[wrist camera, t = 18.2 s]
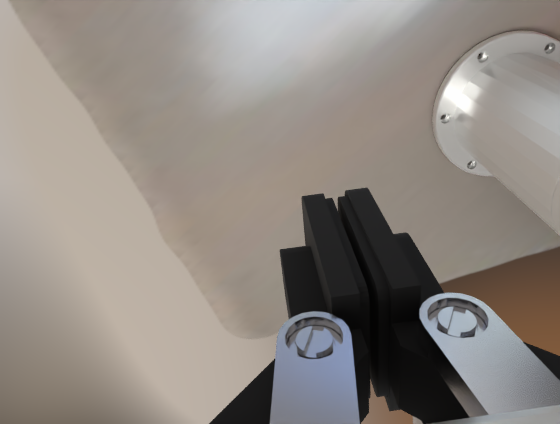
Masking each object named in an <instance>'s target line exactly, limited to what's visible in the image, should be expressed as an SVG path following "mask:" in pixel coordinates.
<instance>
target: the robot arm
mask: <svg viewBox="0 0 560 424" xmlns="http://www.w3.org/2000/svg"><path fill="white" fill-rule="evenodd" d="M480 53H481V55H480V56H479V57H478V55H479V54H480ZM443 114H444V116H443V117H442V118H441V116H442V115H443ZM432 123H433V133H434V136H435V139H436V142H437V144H438V146H439V148H440V149H441V151H442V153H443V154H444V155H445V156H446V157H447V158H448V159H449V161H450V162H452V163H453V164H454V165H455V166H457V167H458V168H459V169H461V170H463V171H465V172H467V173H471V174H475V175H479V176H494V177H496V178H497V179H498V180H499V181H500V182H501V183H502V184H503V185H504V186H505V187H507V188H508V189H509V190H510V191H511V192H512V193H513V194H514V195H515V196H517V197H518V198H519V199H520V200H521V201H522V202H523V203H524V204H525V205H526V206H528V207H529V208H530V209H531V210H532V211H533V212H534V213H535V214H536V215H537V216H539V217H540V218H541V219H542V220H543V221H544V222H545V223H546V224H547V225H548V226H550V227H551V228H552V229H553V230H554V231H555V232H556V233H557V234H558V235H559V236H560V41H559V40H557V39H555V38H553V37H550V36H548V35H546V34H542V33H539V32H535V31H524V30H519V31H511V32H505V33H502V34H499V35H496V36H493V37H490V38H489V39H487V40H485V41H483V42H481V43H479V44H477V45H476V46H475V47H473V48H472V49H471V50H469V51H468V52H467V53H465V54H464V55H463V56H462V57H461V58H460V59H459V60H458V61H457V62H456V64H455V65H454V66H453V67H452V68H451V70H450V71H449V73H448V74H447V75H446V77H445V78H444V80H443V82H442V84H441V86H440V88H439V90H438V93H437V96H436V99H435V103H434V107H433V116H432ZM302 210H303V221H304V233H305V244H306V246H302V247H295V248H287V249H280V257H281V266H282V274H283V282H284V289H285V297H286V304H287V310H288V317H289V320H288V321H286V322H285V323H284V324H283V326H282V327H281V328H280V330H279V333H278V336H277V345H276V357H275V359H274V361H272V362H271V363H270V364H269V365H268V366H267V367H266V368H265V369H264V370H263V371H262V372H261V373H260V374H259V375H258V376H257V377H256V378H255V379H254V380H253V381H252V382H251V383H250V384H249V385H248V386H247V387H246V388H245V389H244V390H243V391H242V392H241V393H240V394H239V395H238V396H237V397H236V398H235V399H234V400H233V401H232V402H231V403H230V404H229V405H228V406H227V407H226V408H225V409H223V410H222V412H220V413H219V414H218V415H217V416H216V418H215V419H213V420H212V421H211V422H210V423H209V424H361V422H362V421H363V420H364V418H365V417H366V415H367V414H368V413H369V398H370V379H371V382H372V385H373V388H374V391H375V394H376V396H377V397H380V396H385V399H386V402H387V405H388V408H389V411H394V410H400V409H401V410H403V411H405V412H407V413H408V414H411V415H412V416H413V424H560V356H558V355H555V354H553V353H550V352H548V351H545V350H543V349H540V348H538V347H535V346H533V345H530V344H527V343H525V342H522V341H521V340H520V339H519V338H518V337H517V336H516V334H515V333H514V332H513V331H512V330H511V329H510V328H509V327H508V326H507V325H506V324H505V323H504V322H503V321H502V320H501V319H500V318H499V317H498V316H497V315H496V313H494V311H493V310H492V309H491V308H490V307H488V306H487V305H486V304H485V303H483V302H482V301H480V300H478V299H476V298H474V297H472V296H468V295H464V294H460V293H444V292H443V290H442V288H441V287H440V285H439V283H438V282H437V280H436V278H435V277H434V275H433V273H432V272H431V270H430V268H429V267H428V265H427V263H426V262H425V260H424V258H423V257H422V255H421V253H420V252H419V250H418V248H417V247H416V245H415V243H414V242H413V240H412V239H411V237H410V236H409V234H408V233H399V234H393V233H392V231H391V229H390V227H389V225H388V224H387V222H386V220H385V218H384V216H383V215H382V213H381V211H380V209H379V207H378V205H377V204H376V202H375V200H374V198H373V196H372V195H371V193H370V191H369V189H368V188H361V189H353V190H346V191H345V196H343V197H338V211H337V208H336V206H335V203H334V201H333V199H332V198H327V199H325V197H324V194H315V195H308V196H302Z"/></svg>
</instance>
